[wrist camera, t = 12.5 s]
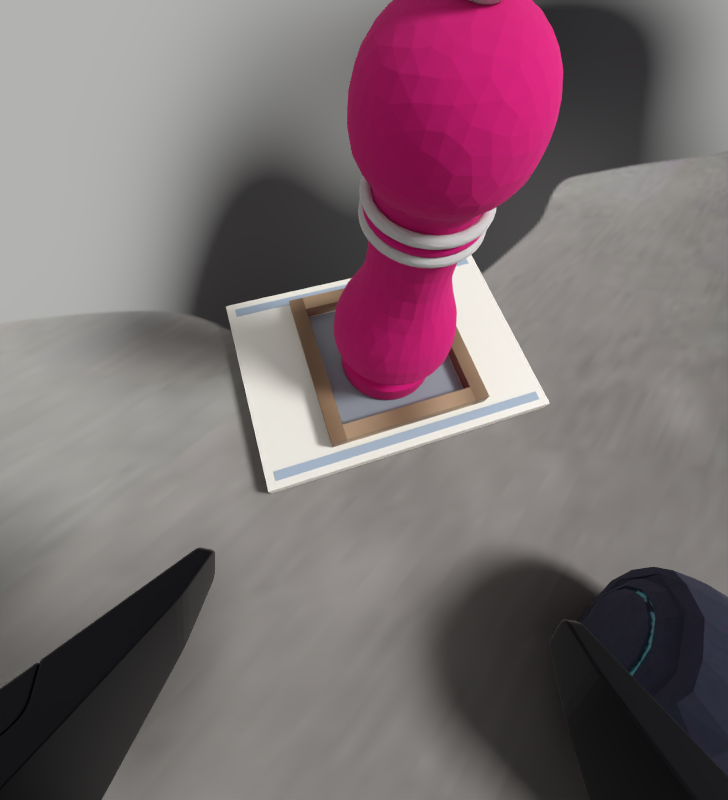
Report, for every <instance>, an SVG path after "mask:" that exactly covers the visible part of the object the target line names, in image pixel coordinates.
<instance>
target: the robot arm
mask: <svg viewBox="0 0 728 800" xmlns="http://www.w3.org/2000/svg"><path fill="white" fill-rule="evenodd" d="M214 574H215V552H214V551H213V550H211V549H206V548H197V549H195V550H194V551H192V552H191V553H190V554H188V555H187V556H185V557H184V558H183V559H181V560H180V561H178V562H177V563H176V564H174V565H173V566H171V567H170V568H169V569H167V570H166V571H164V572H163V573H162V574H160V575H159V576H157V577H156V578H155V579H153V580H152V581H150V582H149V583H148V584H146V585H145V586H143V587H142V588H141V589H139V590H138V591H136V592H135V593H134V594H132V595H131V596H129V597H128V598H127V599H125V600H124V601H123V602H121V603H120V604H118V605H117V606H116V607H114V608H113V609H111V610H110V611H109V612H107V613H106V614H104V615H103V616H102V617H100V618H99V619H97V620H96V621H95V622H93V623H92V624H90V625H89V626H88V627H86V628H85V629H83V630H82V631H81V632H79V633H78V634H76V635H75V636H74V637H72V638H71V639H69V640H68V641H67V642H65V643H64V644H62V645H61V646H60V647H58V648H57V649H56V650H54V651H53V652H51V653H50V654H49V655H47V656H46V657H44V658H43V659H42V660H41V661H40V664H39V663H36V664H34V665H33V666H32V667H30V668H29V669H27V670H26V671H25V672H23V673H22V674H20V675H19V676H18V677H16V678H15V679H13V680H12V681H10V682H9V683H8V684H6V685H5V686H3V687H2V688H0V800H102V798H103V796H104V794H105V792H106V791H107V789H108V787H109V785H110V783H111V781H112V780H113V778H114V776H115V774H116V772H117V770H118V769H119V767H120V765H121V763H122V761H123V759H124V757H125V756H126V754H127V752H128V750H129V748H130V746H131V745H132V743H133V741H134V739H135V737H136V735H137V734H138V732H139V730H140V728H141V726H142V724H143V723H144V721H145V719H146V717H147V715H148V713H149V712H150V710H151V708H152V706H153V704H154V702H155V701H156V699H157V697H158V695H159V693H160V691H161V690H162V688H163V686H164V684H165V682H166V680H167V679H168V677H169V675H170V673H171V671H172V669H173V668H174V666H175V664H176V662H177V660H178V658H179V656H180V655H181V653H182V651H183V649H184V647H185V645H186V642H187V640H188V638H189V636H190V633H191V631H192V629H193V626H194V624H195V622H196V619H197V617H198V615H199V612H200V610H201V608H202V605H203V603H204V601H205V598H206V596H207V594H208V591H209V589H210V587H211V584H212V582H213V578H214ZM550 652H551V657H552V662H553V666H554V671H555V676H556V680H557V685H558V690H559V694H560V699H561V704H562V708H563V713H564V717H565V721H566V725H567V728H568V732H569V735H570V738H571V742H572V745H573V748H574V752H575V755H576V758H577V761H578V765H579V768H580V771H581V775H582V778H583V781H584V784H585V788H586V791H587V794H588V798H589V800H728V776H727V775H726V774H725V773H724V772H723V771H722V770H721V769H720V767H719V766H718V765H717V764H716V763H715V762H714V761H713V760H712V759H711V758H710V757H709V756H708V755H707V754H706V753H705V752H704V751H703V750H702V749H701V748H700V747H699V745H698V744H697V743H696V742H695V741H694V740H693V739H692V738H691V737H690V736H689V735H688V734H687V733H686V732H685V731H684V730H683V729H682V728H681V727H680V726H679V725H678V724H677V722H676V721H675V720H674V719H673V718H672V717H671V716H670V715H669V714H668V713H667V712H666V711H665V710H664V709H663V708H662V707H661V706H660V705H659V704H658V703H657V702H656V701H655V699H654V698H653V697H652V696H651V695H650V694H649V693H648V692H647V691H646V690H645V689H644V688H643V687H642V686H641V685H640V684H639V683H638V682H637V681H636V680H635V679H634V678H633V676H632V675H631V674H630V673H629V672H628V671H627V670H626V669H625V668H624V667H623V666H622V665H621V664H620V663H619V662H618V661H617V660H616V659H615V658H614V657H613V656H612V654H611V653H610V652H609V651H608V650H607V649H606V648H605V647H604V646H603V645H602V644H601V643H600V642H599V641H598V640H597V639H596V638H595V637H594V636H593V635H592V634H591V633H590V631H589V630H588V629H587V628H586V627H585V626H584V625H583V624H581V623H579V622H577V621H572V620H567V619H564V620H562V621H561V622H560V624H559V625H558V627H557V629H556V630H555V632H554V634H553V635H552V637H551V639H550Z"/></svg>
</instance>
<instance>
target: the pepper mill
mask: <svg viewBox="0 0 728 800" xmlns="http://www.w3.org/2000/svg"><path fill="white" fill-rule="evenodd" d="M562 81H563V66H562V60H561V54H560V48H559V45H558V42H557V39H556V37H555V34H554V31H553V29H552V27H551V25H550V24H549V22H548V20H547V18H546V17H545V15H544V13H543V12H542V10H541V9H540V8H539V7H538V6H537V5H536V4H535V3H534V2H533V1H532V0H393V1H392V2H391V3H389V4H388V6H387V7H386V8H385V9H384V10H383V11H382V12H381V14H380V15H379V16H378V17H377V18H376V20H375V21H374V23H373V25H372V27H371V29H370V30H369V32H368V33H367V35H366V37H365V39H364V40H363V42H362V44H361V46H360V49H359V52H358V55H357V58H356V61H355V64H354V68H353V73H352V77H351V81H350V86H349V92H348V108H347V111H348V112H347V113H348V114H347V125H348V133H349V139H350V145H351V150H352V154H353V157H354V159H355V161H356V163H357V165H358V167H359V169H360V171H361V173H362V177H361V181H360V188H359V191H360V192H359V193H360V202H359V208H358V215H359V221H360V225H361V228H362V230H363V233H364V234H365V236H366V237H367V239H368V240H369V244H368V250H367V256H366V260H365V263H364V264H363V265H362V267H361V268H360V269H359V270H358V272H356V274H355V275H354V276H353V277H352V278H351V280H350V281H349V282H348V283H347V285H346V287H345V289H344V291H343V292H342V294H341V296H340V298H339V300H338V303H337V306H336V310H335V317H334V325H333V327H334V337H335V342H336V345H337V348H338V351H339V352H340V354H341V357H342V367H343V370H344V373H345V375H346V377H347V379H348V380H349V382H350V383H351V384H352V385H353V386H354V387H355V388H356V389H357V390H359V391H360V392H361V393H363V394H365V395H367V396H369V397H372V398H376V399H382V400H394V399H399V398H403V397H405V396H407V395H409V394H411V393H413V392H414V391H415V390H417V389H418V388H419V387H420V385H421V384H422V383H423V382H424V380H425V378H426V377H427V376H429V375H430V374H432V373H433V372H435V371H436V370H437V369H438V368H439V367H440V366H441V364H442V363H443V362H444V360H445V359H446V357H447V355H448V353H449V351H450V349H451V346H452V344H453V341H454V337H455V333H456V320H457V309H456V303H455V298H454V293H453V284H452V276H453V273H454V270H455V267H456V265H457V263H458V262H460V261H462V260H464V259H466V258H467V257H469V256H470V255H471V254H472V253H473V252H474V251H476V250H477V248H478V247H479V246H480V244H481V243H482V241H483V239H484V236H485V233H486V229H487V228H488V227H489V225H490V224H491V222H492V220H493V218H494V215H495V213H496V207H497V206H499V205H501V204H502V203H504V202H505V201H506V200H508V199H509V198H510V197H511V196H512V195H513V194H515V193H516V192H517V191H518V190H519V189H520V188H521V187H522V186H523V185H524V184H525V183H526V182H527V180H528V179H529V178H530V176H531V174H532V173H533V171H534V170H535V168H536V166H537V165H538V163H539V161H540V160H541V157H542V155H543V154H544V152H545V149H546V148H547V146H548V144H549V142H550V139H551V136H552V133H553V130H554V128H555V125H556V122H557V118H558V113H559V109H560V103H561V99H562V83H563V82H562Z"/></svg>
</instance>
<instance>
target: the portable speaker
mask: <svg viewBox="0 0 728 800" xmlns="http://www.w3.org/2000/svg"><path fill="white" fill-rule="evenodd" d="M579 623H581V624H583V625H584V626H585V627H586V628H587V629H588V630H589V631H590V633H591V634H592V635H593V636H594V637H595V638H596V639H597V640H598V641H599V642H600V643H601V644H602V645H603V646H604V647H605V648H606V649H607V650H608V651H609V652H610V653H611V654H612V656H613V657H614V658H615V659H616V660H617V661H618V662H619V663H620V664H621V665H622V666H623V667H624V668H625V669H626V670H627V671H628V672H629V673H630V674H631V675H632V676H633V678H634V679H635V680H636V681H637V682H638V683H639V684H640V685H641V686H642V687H643V688H644V689H645V690H646V691H647V692H648V693H649V694H650V695H651V696H652V697H653V698H654V699H655V701H656V702H657V703H658V704H659V705H660V706H661V707H662V708H663V709H664V710H665V711H666V712H667V713H668V714H669V715H670V716H671V717H672V718H673V719H674V720H675V721H676V722H677V724H678V725H679V726H680V727H681V728H682V729H683V730H684V731H685V732H686V733H687V734H688V735H689V736H690V737H691V738H692V739H693V740H694V741H695V742H696V743H697V744H698V745H699V747H700V748H701V749H702V750H703V751H704V752H705V753H706V754H707V755H708V756H709V757H710V758H711V759H712V760H713V761H714V762H715V763H716V764H717V765H718V766H719V767H720V769H721V770H722V771H723V772H724V773H725V774H726V775H727V776H728V597H727V596H725V595H724V594H722V593H720V592H719V591H717V590H716V589H714V588H712V587H711V586H709V585H707V584H705V583H703V582H701V581H698V580H696V579H694V578H691V577H689V576H686V575H684V574H681V573H678V572H676V571H673V570H668V569H662V568H657V567H649V568H642V569H636V570H631V571H629V572H628V573H626V574H624V575H622V576H620V577H618V578H616V579H614V580H612V581H611V582H610V583H609V584H608V585H607V586H606V588H605V589H604V590H603V591H602V592H601V593H600V594H599V595H598V596H597V598H596V599H595V600H594V601H593V602H592V604H591V605H590V606H589V607H588V608H587V609H586V611H585V612H584V613H583V615H582V617H581V619H580V621H579Z"/></svg>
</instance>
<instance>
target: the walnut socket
mask: <svg viewBox="0 0 728 800" xmlns="http://www.w3.org/2000/svg"><path fill="white" fill-rule="evenodd" d="M344 289H345V288H343V289H339V290H334V291H330V292H325V293H321V294H317V295H312V296H308V297H304V298H299V299H295V300H290V301H289V304H290V308H291V312H292V315H293V318H294V322H295V325H296V328H297V332H298V335H299V338H300V342H301V345H302V348H303V352H304V355H305V358H306V362H307V365H308V368H309V372H310V375H311V378H312V382H313V385H314V388H315V392H316V395H317V398H318V402H319V405H320V408H321V412H322V415H323V418H324V422H325V425H326V428H327V432H328V435H329V438H330V442H331V445H332V447H336V446H339V445H342V444H346V443H349V442H352V441H356V440H359V439H362V438H365V437H369V436H372V435H375V434H379V433H382V432H385V431H388V430H392V429H395V428H398V427H402V426H405V425H408V424H412V423H415V422H418V421H421V420H425V419H428V418H431V417H435V416H438V415H441V414H444V413H448V412H451V411H454V410H458V409H461V408H464V407H468V406H471V405H474V404H477V403H481V402H484V401H485V400H486V399H487V398H488V397H489V394H488V392H487V390H486V388H485V386H484V383H483V381H482V379H481V377H480V375H479V373H478V371H477V369H476V367H475V364H474V362H473V360H472V358H471V356H470V354H469V352H468V350H467V348H466V345H465V343H464V341H463V339H462V337H461V335H460V333H459V331H458V328H457V326H456V333H455V337H454V341H453V344H452V346H451V349H450V351H449V353H448V355H449V357H450V360H451V362H452V364H453V366H454V369H455V371H456V373H457V375H458V377H459V380H460V382H461V384H462V386H463V389H462V390H459V391H455V392H452V393H448V394H445V395H442V396H438V397H435V398H431V399H428V400H425V401H421V402H418V403H414V404H411V405H408V406H404V407H401V408H397V409H394V410H391V411H387V412H384V413H380V414H377V415H374V416H370V417H367V418H363V419H360V420H357V421H353V422H350V423H346V424H342V421H341V418H340V415H339V412H338V408H337V405H336V402H335V399H334V396H333V393H332V389H331V386H330V383H329V380H328V377H327V374H326V370H325V367H324V364H323V361H322V358H321V355H320V352H319V348H318V345H317V342H316V339H315V336H314V333H313V329H312V326H311V323H310V320H309V316H313V315H318V314H322V313H326V312H330V311H335V310H336V306H337V303H338V300H339V298H340V296H341V294H342V292H343V291H344Z"/></svg>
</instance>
